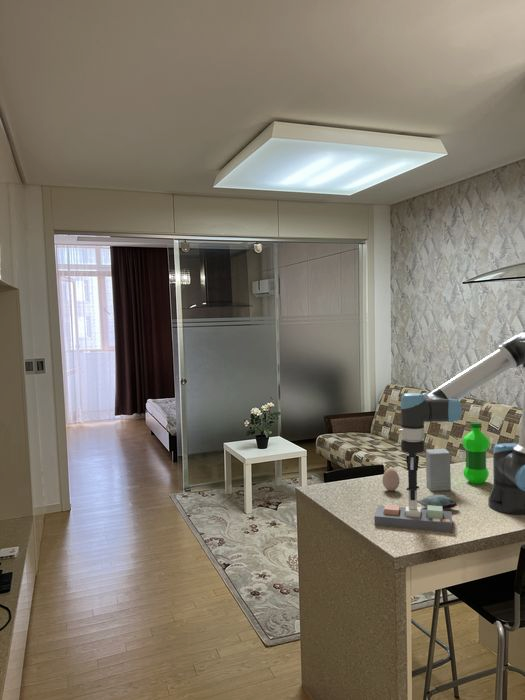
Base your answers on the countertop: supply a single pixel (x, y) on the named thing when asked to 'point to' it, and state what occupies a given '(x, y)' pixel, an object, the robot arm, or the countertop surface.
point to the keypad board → (414, 520)
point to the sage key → (434, 512)
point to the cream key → (413, 512)
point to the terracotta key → (392, 509)
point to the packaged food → (438, 501)
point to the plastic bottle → (476, 454)
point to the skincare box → (438, 470)
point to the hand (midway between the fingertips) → (412, 508)
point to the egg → (390, 479)
